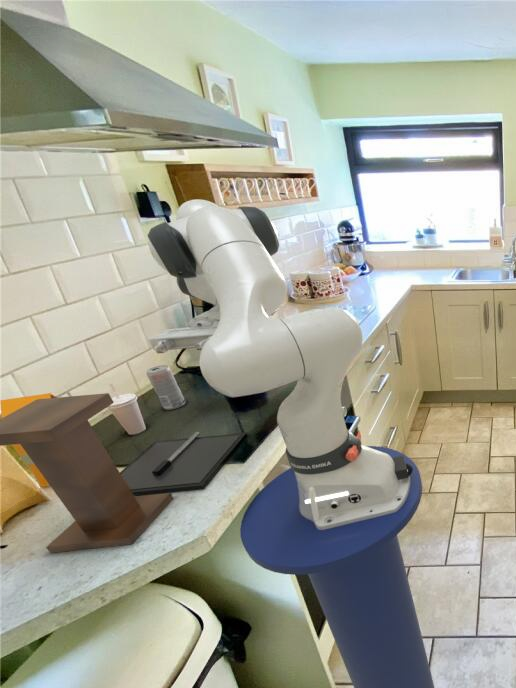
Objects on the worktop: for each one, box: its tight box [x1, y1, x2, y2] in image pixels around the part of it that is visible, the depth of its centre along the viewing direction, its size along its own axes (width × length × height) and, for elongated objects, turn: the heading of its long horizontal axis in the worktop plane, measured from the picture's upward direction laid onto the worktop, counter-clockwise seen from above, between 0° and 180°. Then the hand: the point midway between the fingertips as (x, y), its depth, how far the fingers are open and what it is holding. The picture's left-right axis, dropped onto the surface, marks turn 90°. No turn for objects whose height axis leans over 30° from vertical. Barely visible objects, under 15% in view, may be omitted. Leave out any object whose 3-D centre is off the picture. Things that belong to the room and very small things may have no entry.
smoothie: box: [106, 382, 147, 436], centre depth 108 cm, size 6×6×14 cm
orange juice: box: [0, 392, 58, 488], centre depth 91 cm, size 8×9×20 cm
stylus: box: [152, 431, 201, 476], centre depth 98 cm, size 1×16×1 cm, turn 6°
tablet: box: [119, 432, 248, 497], centre depth 96 cm, size 22×20×1 cm
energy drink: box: [146, 364, 187, 411], centre depth 120 cm, size 5×5×12 cm
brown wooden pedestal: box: [0, 392, 174, 554], centre depth 75 cm, size 14×12×25 cm
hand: (178, 348), depth 101 cm, fingers open, 8 cm apart
